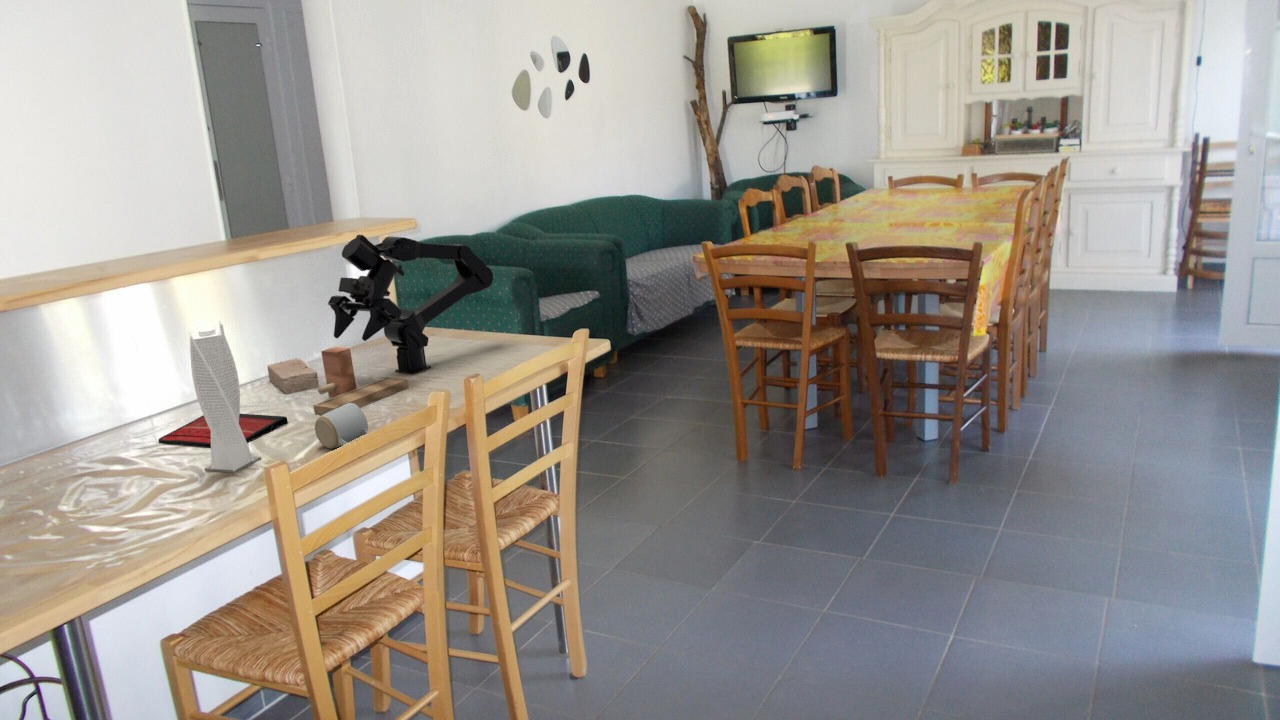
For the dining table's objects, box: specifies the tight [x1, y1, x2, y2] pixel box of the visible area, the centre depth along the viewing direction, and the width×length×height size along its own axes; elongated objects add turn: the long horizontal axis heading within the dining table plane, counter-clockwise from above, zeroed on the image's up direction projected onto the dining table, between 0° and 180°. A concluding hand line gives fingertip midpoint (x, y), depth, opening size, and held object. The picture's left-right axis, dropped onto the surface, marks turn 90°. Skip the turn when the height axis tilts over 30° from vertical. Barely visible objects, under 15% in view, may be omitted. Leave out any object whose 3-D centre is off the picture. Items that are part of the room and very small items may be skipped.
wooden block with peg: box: [317, 346, 357, 399], centre depth 213 cm, size 8×5×11 cm, turn 149°
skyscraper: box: [188, 319, 262, 474], centre depth 172 cm, size 8×8×28 cm
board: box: [313, 376, 409, 416], centre depth 211 cm, size 22×6×2 cm, turn 149°
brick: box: [267, 358, 320, 395], centre depth 229 cm, size 17×8×5 cm, turn 34°
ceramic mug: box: [314, 403, 369, 450], centre depth 182 cm, size 10×8×7 cm
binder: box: [158, 413, 289, 448], centre depth 195 cm, size 16×2×21 cm
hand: (349, 338), depth 216 cm, fingers open, 9 cm apart
